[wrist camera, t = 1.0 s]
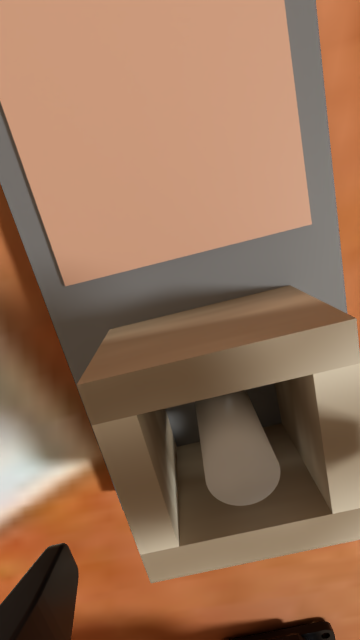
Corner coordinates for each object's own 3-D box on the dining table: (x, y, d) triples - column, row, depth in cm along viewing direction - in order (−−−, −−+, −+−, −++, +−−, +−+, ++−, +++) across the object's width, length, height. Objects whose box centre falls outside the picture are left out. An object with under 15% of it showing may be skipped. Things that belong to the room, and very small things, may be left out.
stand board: (350, 443, 15) (452, 568, 10) (126, 493, 16) (101, 639, 10) (288, -103, 10) (445, -543, 4) (-55, -2, 10) (-327, -276, 5)
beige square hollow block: (313, 440, 14) (376, 536, 10) (156, 475, 14) (150, 583, 10) (290, 285, 12) (356, 318, 8) (109, 329, 12) (76, 384, 8)
